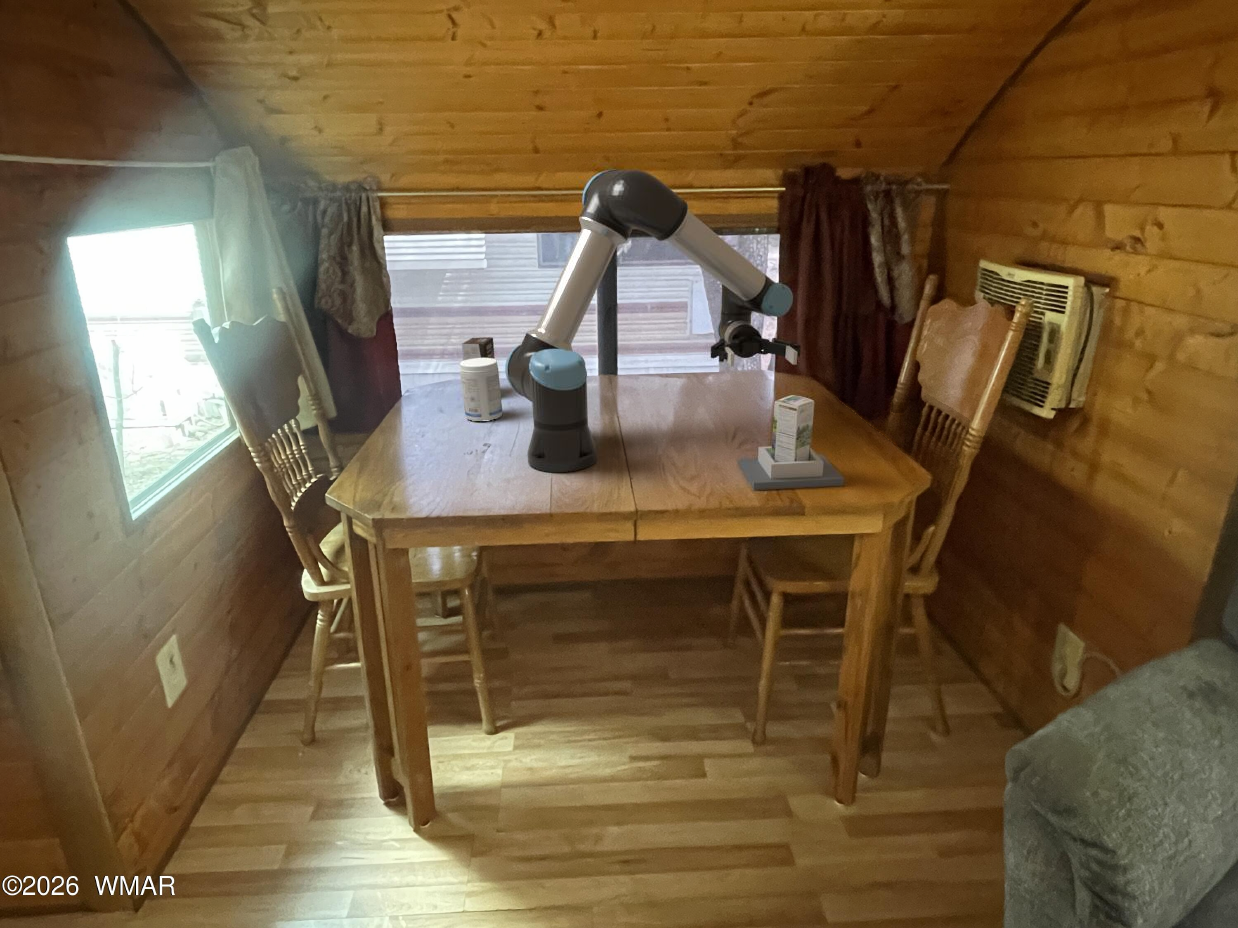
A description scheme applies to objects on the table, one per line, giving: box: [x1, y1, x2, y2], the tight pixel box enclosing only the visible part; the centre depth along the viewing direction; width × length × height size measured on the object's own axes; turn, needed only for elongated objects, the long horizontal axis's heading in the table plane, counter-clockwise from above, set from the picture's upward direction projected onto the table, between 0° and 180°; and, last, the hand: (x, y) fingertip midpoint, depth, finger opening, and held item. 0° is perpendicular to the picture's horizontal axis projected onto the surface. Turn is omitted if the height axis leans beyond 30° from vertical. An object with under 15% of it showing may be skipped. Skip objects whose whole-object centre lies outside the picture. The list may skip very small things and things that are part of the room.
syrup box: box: [771, 394, 815, 462], centre depth 159 cm, size 6×6×14 cm
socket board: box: [737, 445, 845, 491], centre depth 161 cm, size 18×14×4 cm
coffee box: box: [461, 336, 496, 361], centre depth 220 cm, size 9×6×16 cm
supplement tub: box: [459, 358, 503, 422], centre depth 201 cm, size 10×10×15 cm
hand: (763, 359), depth 169 cm, fingers open, 13 cm apart
